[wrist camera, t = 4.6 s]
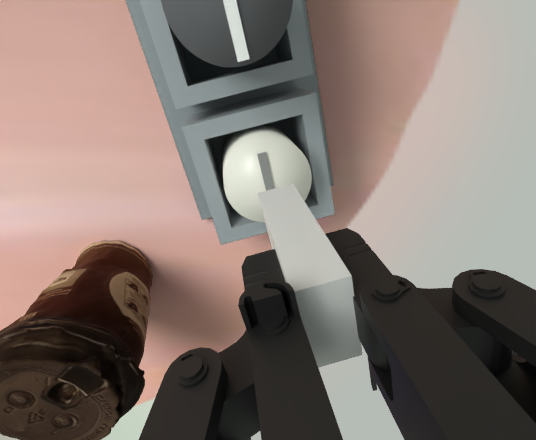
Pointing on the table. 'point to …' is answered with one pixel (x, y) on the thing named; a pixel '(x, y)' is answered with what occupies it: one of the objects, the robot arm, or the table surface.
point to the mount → (236, 110)
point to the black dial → (228, 28)
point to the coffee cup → (78, 349)
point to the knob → (261, 167)
